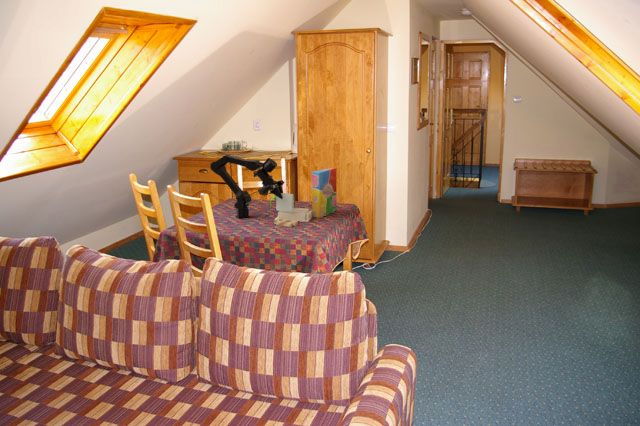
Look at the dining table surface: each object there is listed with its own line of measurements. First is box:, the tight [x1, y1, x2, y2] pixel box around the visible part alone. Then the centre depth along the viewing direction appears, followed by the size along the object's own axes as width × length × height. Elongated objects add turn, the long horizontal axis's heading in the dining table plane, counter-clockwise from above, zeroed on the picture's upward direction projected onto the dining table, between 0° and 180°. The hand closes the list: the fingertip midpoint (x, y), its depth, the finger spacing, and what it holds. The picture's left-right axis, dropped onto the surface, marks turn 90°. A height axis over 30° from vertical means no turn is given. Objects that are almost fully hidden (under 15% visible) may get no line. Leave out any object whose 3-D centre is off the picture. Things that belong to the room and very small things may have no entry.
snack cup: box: [269, 195, 296, 213], centre depth 354 cm, size 16×10×10 cm
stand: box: [273, 219, 299, 228], centre depth 323 cm, size 12×6×2 cm, turn 55°
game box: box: [311, 167, 338, 219], centre depth 344 cm, size 21×6×27 cm, turn 149°
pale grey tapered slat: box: [275, 192, 295, 212], centre depth 330 cm, size 10×2×10 cm, turn 69°
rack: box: [274, 207, 313, 223], centre depth 336 cm, size 20×12×5 cm, turn 80°
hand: (283, 198), depth 329 cm, fingers closed on pale grey tapered slat, 2 cm apart
